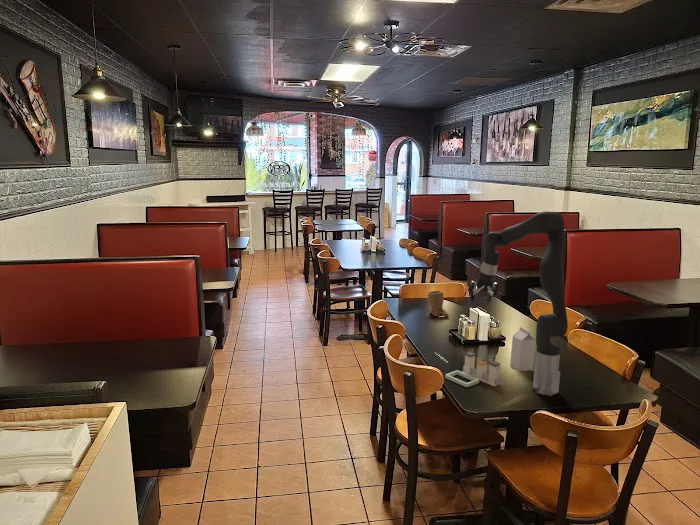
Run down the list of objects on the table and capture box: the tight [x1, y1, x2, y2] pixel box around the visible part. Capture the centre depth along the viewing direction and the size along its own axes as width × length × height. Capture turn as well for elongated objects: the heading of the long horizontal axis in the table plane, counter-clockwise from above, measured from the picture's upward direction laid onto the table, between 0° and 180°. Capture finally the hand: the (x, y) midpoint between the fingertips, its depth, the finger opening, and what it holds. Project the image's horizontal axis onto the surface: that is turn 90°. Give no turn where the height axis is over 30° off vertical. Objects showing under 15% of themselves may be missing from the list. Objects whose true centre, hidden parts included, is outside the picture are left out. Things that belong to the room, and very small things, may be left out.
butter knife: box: [434, 352, 449, 364], centre depth 242 cm, size 1×27×3 cm
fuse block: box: [462, 351, 503, 387], centre depth 222 cm, size 18×5×10 cm, turn 38°
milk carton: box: [509, 326, 536, 372], centre depth 236 cm, size 7×7×19 cm
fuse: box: [475, 356, 488, 380], centre depth 222 cm, size 3×3×9 cm
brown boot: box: [427, 290, 450, 318], centre depth 318 cm, size 15×12×15 cm
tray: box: [444, 369, 480, 388], centre depth 220 cm, size 12×8×3 cm, turn 38°
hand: (479, 301), depth 250 cm, fingers open, 8 cm apart
